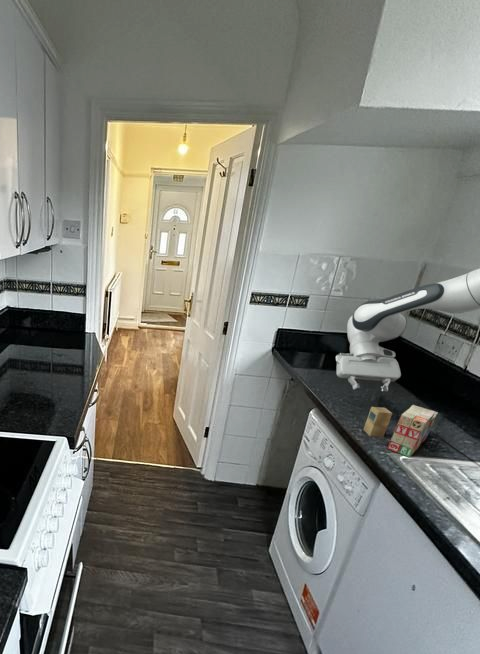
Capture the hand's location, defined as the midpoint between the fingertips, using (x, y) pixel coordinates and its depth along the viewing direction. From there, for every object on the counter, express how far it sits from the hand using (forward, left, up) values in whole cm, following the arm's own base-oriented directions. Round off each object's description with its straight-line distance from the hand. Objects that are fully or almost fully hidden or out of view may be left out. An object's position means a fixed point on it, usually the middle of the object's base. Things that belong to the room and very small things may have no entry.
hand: (370, 390), depth 143 cm
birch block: (0, +9, -12) cm, 15 cm away
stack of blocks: (-8, +14, -12) cm, 20 cm away
